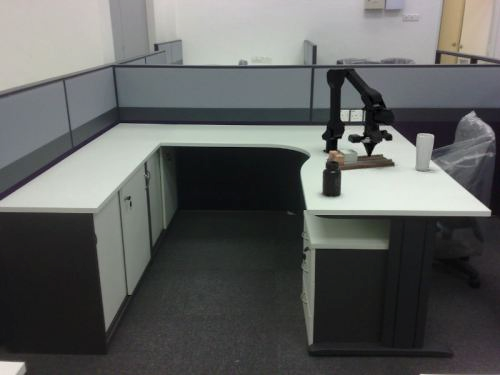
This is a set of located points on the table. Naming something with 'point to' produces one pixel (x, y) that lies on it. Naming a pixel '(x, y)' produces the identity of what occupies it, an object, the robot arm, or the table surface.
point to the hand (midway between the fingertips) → (369, 156)
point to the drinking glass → (424, 151)
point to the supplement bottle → (331, 179)
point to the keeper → (349, 155)
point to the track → (360, 161)
